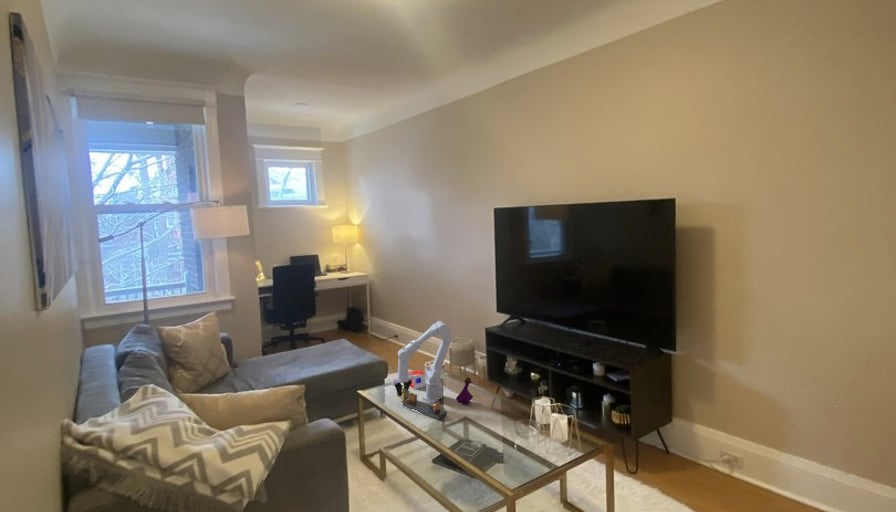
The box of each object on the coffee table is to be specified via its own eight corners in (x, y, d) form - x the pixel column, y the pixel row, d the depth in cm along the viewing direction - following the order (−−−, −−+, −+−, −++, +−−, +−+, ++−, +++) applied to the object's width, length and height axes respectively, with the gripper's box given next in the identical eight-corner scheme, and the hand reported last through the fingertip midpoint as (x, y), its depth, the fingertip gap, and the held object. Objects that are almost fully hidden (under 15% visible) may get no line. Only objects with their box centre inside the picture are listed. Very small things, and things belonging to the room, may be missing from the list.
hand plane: (410, 402, 260) (411, 390, 259) (446, 415, 246) (447, 403, 245) (402, 406, 254) (403, 394, 253) (438, 420, 240) (439, 407, 239)
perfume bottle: (473, 401, 263) (474, 371, 261) (467, 407, 257) (469, 375, 254) (460, 398, 266) (462, 368, 264) (455, 404, 260) (456, 372, 257)
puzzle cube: (418, 381, 288) (419, 369, 286) (425, 386, 281) (425, 374, 280) (407, 384, 283) (407, 371, 282) (413, 389, 277) (413, 376, 276)
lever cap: (402, 394, 264) (402, 387, 263) (409, 398, 260) (409, 391, 259) (396, 396, 261) (397, 389, 260) (403, 400, 257) (404, 393, 256)
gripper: (397, 376, 251) (396, 400, 253) (418, 370, 261) (417, 393, 263) (389, 372, 256) (388, 396, 258) (409, 366, 266) (408, 389, 268)
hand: (402, 394), depth 261 cm, fingers closed on lever cap, 4 cm apart
